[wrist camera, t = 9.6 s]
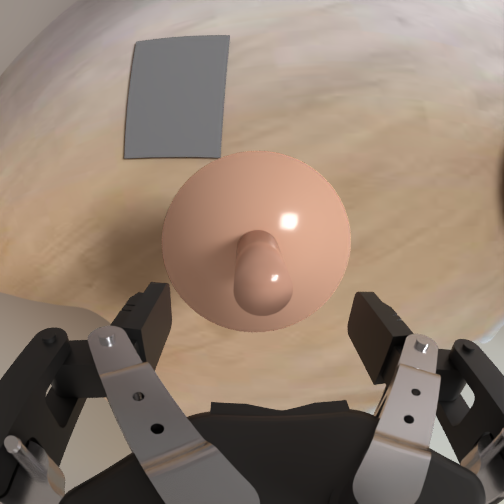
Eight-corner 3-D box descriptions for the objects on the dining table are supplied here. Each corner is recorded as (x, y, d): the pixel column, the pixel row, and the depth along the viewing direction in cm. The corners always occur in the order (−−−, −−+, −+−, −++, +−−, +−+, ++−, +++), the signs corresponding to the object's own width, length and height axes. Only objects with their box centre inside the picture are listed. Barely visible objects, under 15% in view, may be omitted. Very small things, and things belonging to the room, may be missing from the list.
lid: (165, 148, 17) (125, 145, 11) (357, 161, 18) (408, 166, 11) (169, 321, 21) (146, 378, 15) (331, 327, 22) (357, 383, 16)
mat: (137, 42, 26) (136, 41, 26) (229, 36, 27) (229, 35, 26) (125, 158, 31) (124, 158, 31) (220, 157, 32) (220, 157, 31)
